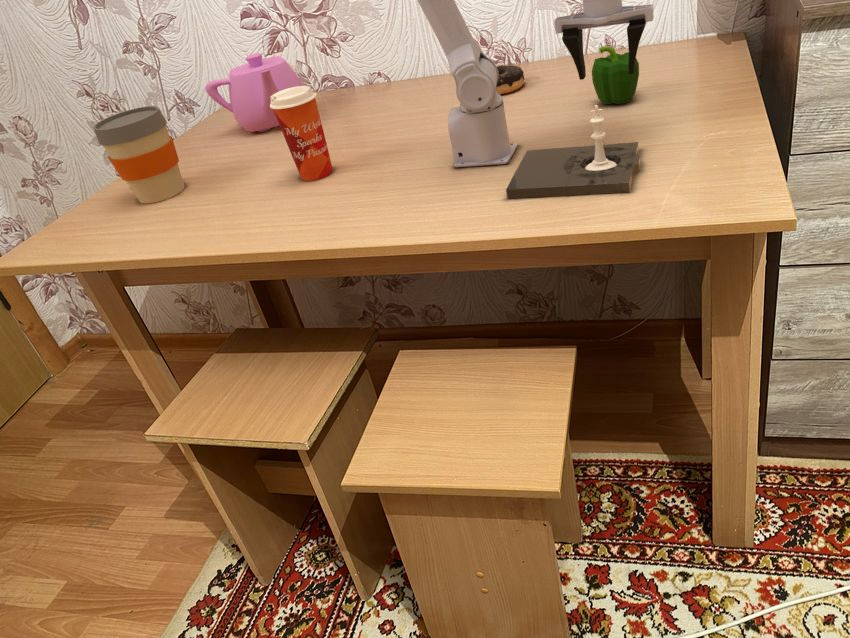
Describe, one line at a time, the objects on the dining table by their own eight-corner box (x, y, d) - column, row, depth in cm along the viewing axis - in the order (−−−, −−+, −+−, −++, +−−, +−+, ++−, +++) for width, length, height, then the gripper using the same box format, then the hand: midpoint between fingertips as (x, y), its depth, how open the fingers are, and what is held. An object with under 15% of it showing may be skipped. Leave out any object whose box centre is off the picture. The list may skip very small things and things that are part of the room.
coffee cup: (302, 187, 124) (273, 103, 116) (290, 175, 131) (262, 95, 122) (345, 172, 127) (320, 88, 118) (331, 161, 133) (307, 81, 124)
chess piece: (617, 176, 103) (613, 109, 98) (583, 179, 105) (577, 113, 99) (617, 163, 107) (614, 98, 101) (585, 166, 109) (580, 102, 103)
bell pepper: (647, 93, 131) (645, 37, 125) (630, 108, 125) (627, 51, 120) (605, 93, 135) (601, 39, 129) (587, 108, 130) (583, 52, 124)
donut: (526, 91, 145) (524, 72, 143) (471, 102, 146) (467, 83, 144) (524, 77, 154) (521, 58, 152) (471, 87, 155) (468, 69, 153)
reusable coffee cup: (155, 210, 129) (117, 131, 120) (116, 204, 136) (78, 129, 127) (206, 181, 137) (174, 105, 128) (167, 177, 144) (134, 105, 135)
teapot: (220, 129, 166) (194, 64, 158) (304, 103, 171) (284, 39, 162) (231, 154, 148) (203, 82, 140) (325, 125, 153) (303, 53, 144)
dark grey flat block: (507, 198, 104) (505, 189, 103) (527, 158, 115) (526, 150, 115) (634, 192, 98) (634, 182, 97) (643, 150, 109) (643, 141, 108)
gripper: (547, -7, 101) (557, 87, 109) (649, -22, 96) (652, 77, 104) (555, -17, 106) (564, 74, 114) (653, -32, 102) (655, 63, 110)
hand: (607, 75), depth 110 cm, fingers open, 7 cm apart
